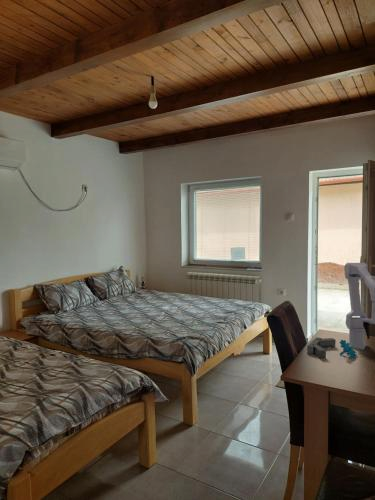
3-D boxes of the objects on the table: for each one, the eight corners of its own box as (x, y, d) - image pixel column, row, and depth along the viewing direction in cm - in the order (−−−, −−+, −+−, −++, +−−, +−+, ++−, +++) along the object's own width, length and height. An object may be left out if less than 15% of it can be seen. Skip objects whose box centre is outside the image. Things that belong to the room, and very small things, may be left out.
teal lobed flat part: (352, 358, 164) (338, 339, 170) (343, 364, 167) (329, 346, 173) (361, 355, 172) (347, 337, 177) (352, 361, 175) (338, 344, 180)
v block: (318, 342, 191) (318, 335, 191) (336, 346, 186) (336, 338, 185) (304, 355, 173) (305, 347, 172) (324, 359, 167) (324, 351, 167)
